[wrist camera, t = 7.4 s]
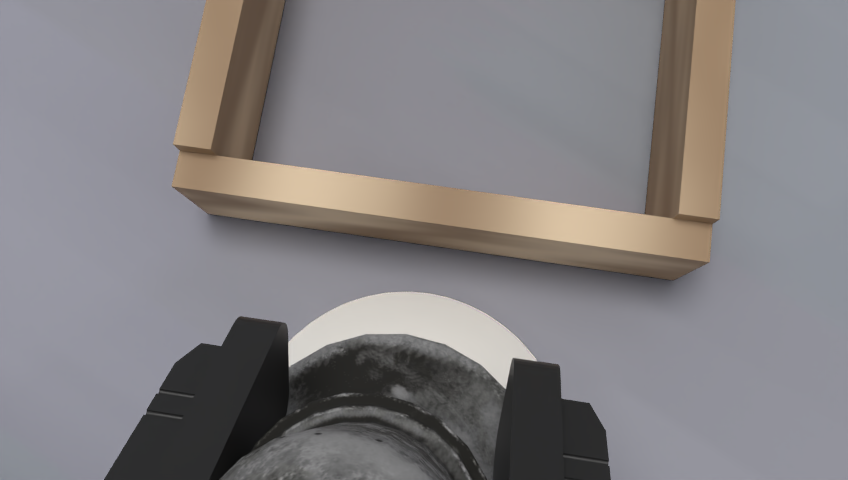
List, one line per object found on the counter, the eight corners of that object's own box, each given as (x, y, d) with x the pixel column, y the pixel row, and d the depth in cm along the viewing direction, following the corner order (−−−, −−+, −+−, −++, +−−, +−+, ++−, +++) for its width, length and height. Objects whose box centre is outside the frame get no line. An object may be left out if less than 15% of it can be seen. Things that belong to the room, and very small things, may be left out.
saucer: (216, 596, 20) (209, 602, 20) (279, 274, 22) (274, 270, 21) (546, 653, 20) (549, 662, 19) (582, 318, 21) (586, 316, 21)
